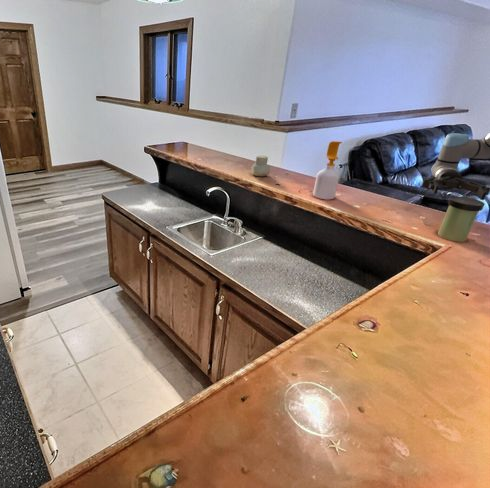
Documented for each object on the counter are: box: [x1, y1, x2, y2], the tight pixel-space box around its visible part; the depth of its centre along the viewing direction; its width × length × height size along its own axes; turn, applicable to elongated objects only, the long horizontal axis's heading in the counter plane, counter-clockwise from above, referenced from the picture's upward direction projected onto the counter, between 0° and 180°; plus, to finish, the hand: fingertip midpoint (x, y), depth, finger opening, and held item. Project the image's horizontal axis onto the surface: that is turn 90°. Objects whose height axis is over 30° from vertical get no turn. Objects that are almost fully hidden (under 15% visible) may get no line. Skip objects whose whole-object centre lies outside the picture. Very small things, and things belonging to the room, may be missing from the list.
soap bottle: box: [312, 140, 343, 201], centre depth 152 cm, size 9×9×25 cm
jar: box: [437, 204, 480, 243], centre depth 118 cm, size 8×8×13 cm
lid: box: [447, 195, 486, 212], centre depth 116 cm, size 9×9×2 cm
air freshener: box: [250, 154, 271, 177], centre depth 186 cm, size 11×8×10 cm
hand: (459, 193), depth 123 cm, fingers open, 13 cm apart
